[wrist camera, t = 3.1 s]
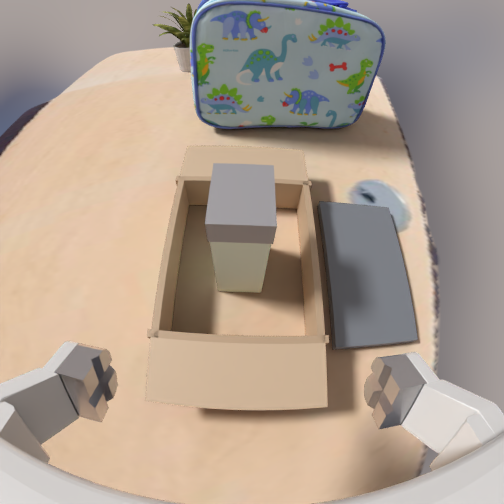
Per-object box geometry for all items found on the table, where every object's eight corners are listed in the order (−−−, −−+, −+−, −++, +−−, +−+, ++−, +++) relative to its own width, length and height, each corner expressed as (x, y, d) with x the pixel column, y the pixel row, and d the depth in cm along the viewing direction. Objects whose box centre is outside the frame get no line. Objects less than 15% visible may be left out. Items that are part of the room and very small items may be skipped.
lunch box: (340, 101, 44) (366, 3, 26) (364, 136, 39) (403, 21, 21) (196, 101, 42) (189, -12, 23) (195, 138, 37) (183, -5, 18)
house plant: (201, 51, 55) (199, -5, 41) (240, 63, 51) (242, -2, 37) (151, 69, 50) (143, 7, 35) (187, 83, 45) (181, 8, 31)
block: (262, 293, 26) (276, 226, 16) (216, 292, 26) (204, 224, 16) (261, 245, 29) (273, 165, 19) (220, 243, 28) (213, 163, 19)
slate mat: (412, 341, 24) (417, 339, 23) (332, 349, 24) (335, 347, 23) (385, 212, 32) (388, 207, 31) (317, 206, 31) (319, 201, 30)
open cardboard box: (317, 405, 21) (331, 406, 18) (156, 400, 21) (141, 400, 17) (299, 174, 34) (305, 150, 30) (188, 170, 33) (185, 145, 30)
